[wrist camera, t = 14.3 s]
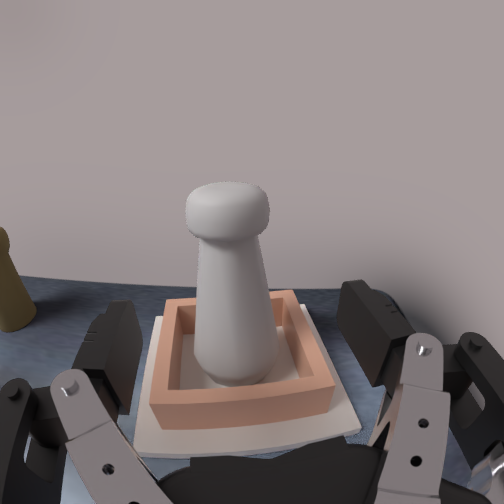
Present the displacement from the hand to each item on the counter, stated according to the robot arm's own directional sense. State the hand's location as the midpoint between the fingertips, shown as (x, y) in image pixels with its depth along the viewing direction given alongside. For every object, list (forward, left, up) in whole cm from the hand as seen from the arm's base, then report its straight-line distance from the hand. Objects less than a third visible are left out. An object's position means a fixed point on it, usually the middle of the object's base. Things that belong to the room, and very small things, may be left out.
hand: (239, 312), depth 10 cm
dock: (0, +6, -10) cm, 12 cm away
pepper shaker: (-26, +14, -10) cm, 31 cm away
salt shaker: (0, +6, -10) cm, 11 cm away
